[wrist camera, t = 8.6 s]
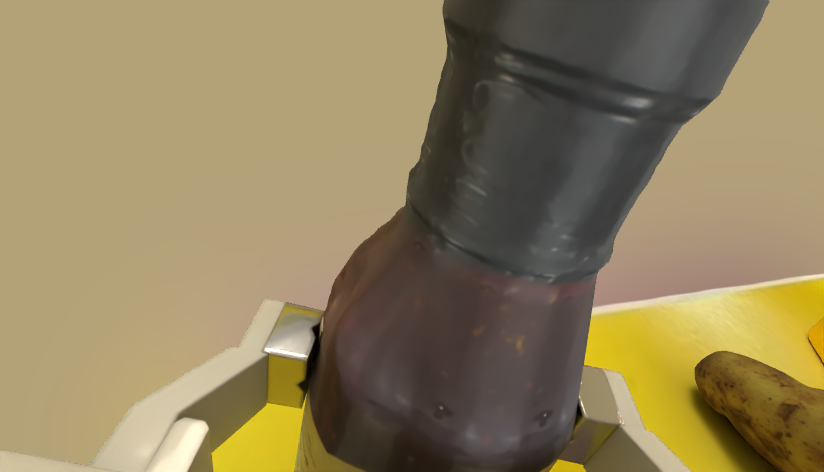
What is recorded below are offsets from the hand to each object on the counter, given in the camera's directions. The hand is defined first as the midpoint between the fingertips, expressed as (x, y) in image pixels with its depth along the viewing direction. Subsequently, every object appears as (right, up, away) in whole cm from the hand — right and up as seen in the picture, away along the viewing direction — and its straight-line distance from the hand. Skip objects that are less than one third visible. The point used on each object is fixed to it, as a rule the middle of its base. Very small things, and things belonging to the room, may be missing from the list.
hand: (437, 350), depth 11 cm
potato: (+23, -12, +17) cm, 31 cm away
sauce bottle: (-2, -9, +6) cm, 11 cm away
